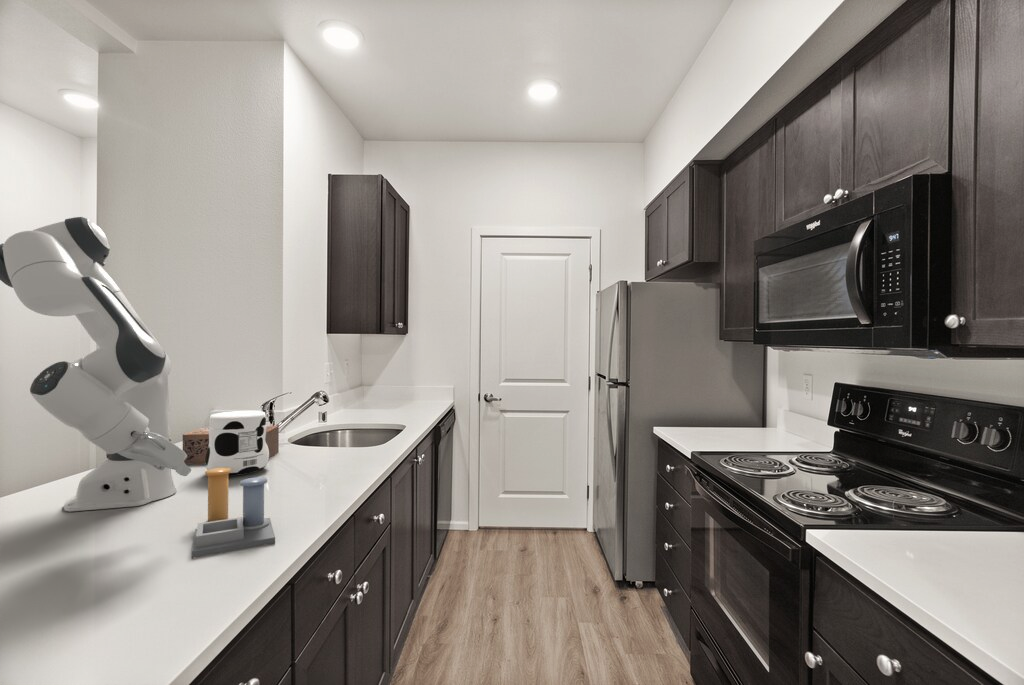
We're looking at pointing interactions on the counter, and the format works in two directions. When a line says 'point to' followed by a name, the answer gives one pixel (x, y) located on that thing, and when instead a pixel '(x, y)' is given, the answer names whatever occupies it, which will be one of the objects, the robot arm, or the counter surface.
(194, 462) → the tissue box cover
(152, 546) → the counter surface
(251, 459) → the milk container
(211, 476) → the pin
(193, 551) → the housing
